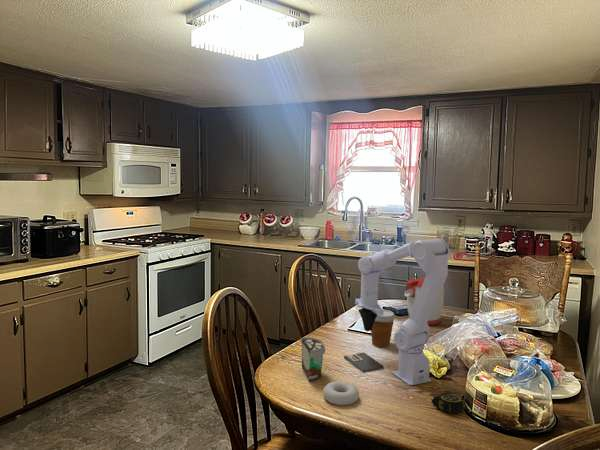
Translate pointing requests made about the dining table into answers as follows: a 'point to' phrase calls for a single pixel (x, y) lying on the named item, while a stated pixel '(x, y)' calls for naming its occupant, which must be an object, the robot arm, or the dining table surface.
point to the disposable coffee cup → (382, 329)
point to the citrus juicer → (412, 294)
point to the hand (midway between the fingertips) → (368, 330)
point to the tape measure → (449, 402)
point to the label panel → (363, 362)
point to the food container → (312, 357)
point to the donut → (340, 393)
